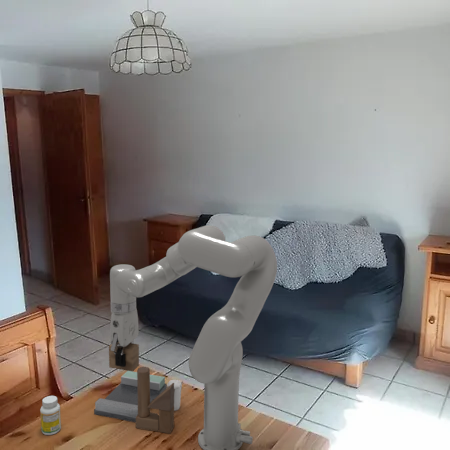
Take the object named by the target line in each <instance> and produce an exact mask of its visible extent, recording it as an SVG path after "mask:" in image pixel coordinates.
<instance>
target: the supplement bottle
mask: <svg viewBox="0 0 450 450" xmlns="http://www.w3.org/2000/svg"><path fill="white" fill-rule="evenodd" d="M41 401H42V402H41V403H42V405H41V407H40V409H39V411H40V412H39V413H40V426H41V427H40V428H41V432H42V434H44V435H45V436H52V435H55V434H57V433H58V432H60V431H61V429H62V418H61V406H60V405H61V404H60V403H59V402H58V401H59V400H58V397H57V396H55V395H48V396H46V397H44V398H42V400H41Z"/></svg>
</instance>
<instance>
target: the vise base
mask: <svg viewBox="0 0 450 450" xmlns="http://www.w3.org/2000/svg"><path fill="white" fill-rule="evenodd" d="M167 384H168V383H165V384H164V386H163V387H162V388H161V389H160V390H159V391H158V390H153V389H150V403H151V401H152V400H153V399H155V398H156V397H157V396H158V395H159V394H161V393H162V392H163V391H164V390H165V389H167ZM94 404H95V405H94V406H95V407H94V410H93V415H95V416H96V415H97V416H102V417H106V418H112V419H117V420H122V421H125V422H132V423H136V416H137V415H138V389H137V387H136V386H130V385H125V384H121V382H120V383H119V384H118V385H117V386H116V387H115V388H114V389H113V390H112V391H111V392H110V393H109V394H108V395H107V396H106V397H105V398H100V397H99V398H98V399H97V400H96V401H95V403H94Z"/></svg>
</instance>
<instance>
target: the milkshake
mask: <svg viewBox="0 0 450 450" xmlns="http://www.w3.org/2000/svg"><path fill="white" fill-rule="evenodd" d="M183 382H184V381H183V380H182V381H180V380H179V379H170V380H169V381H168V382H167V383H166V384H167V388H168V387H169V386H170V385H171V384H173V383H174V412H175V411H176V412H177V411H178V410H180V408H181V396H182V385H183ZM167 388H166V389H167Z"/></svg>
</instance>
